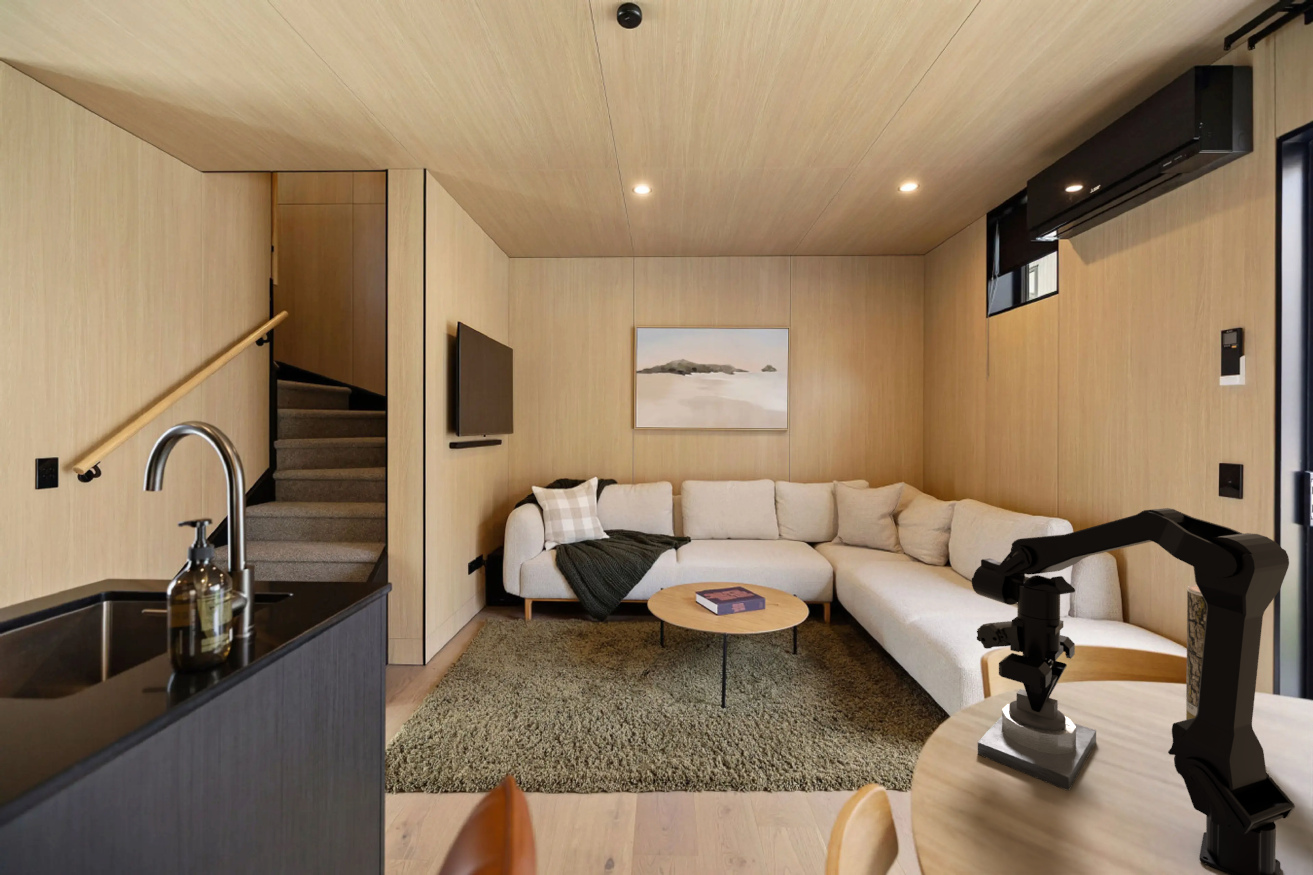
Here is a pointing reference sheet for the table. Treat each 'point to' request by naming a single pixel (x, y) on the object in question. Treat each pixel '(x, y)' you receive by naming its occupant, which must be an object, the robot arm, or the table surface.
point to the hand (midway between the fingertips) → (1037, 708)
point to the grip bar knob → (1037, 713)
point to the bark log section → (1194, 647)
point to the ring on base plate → (1039, 749)
